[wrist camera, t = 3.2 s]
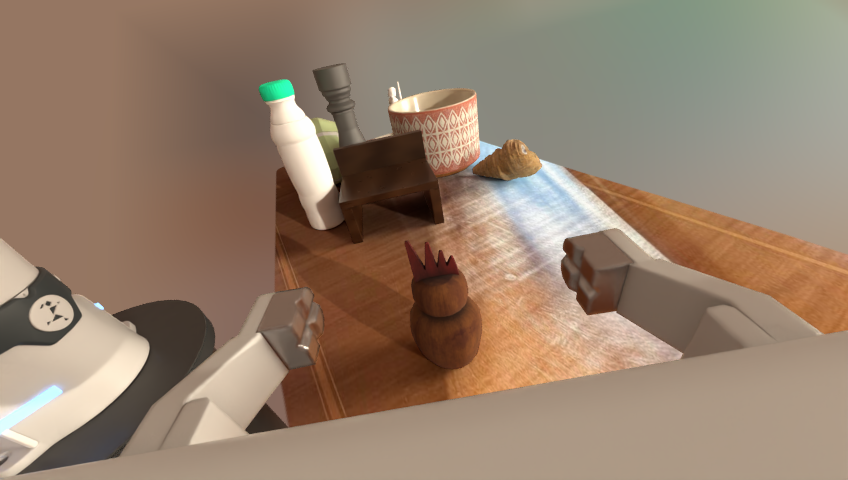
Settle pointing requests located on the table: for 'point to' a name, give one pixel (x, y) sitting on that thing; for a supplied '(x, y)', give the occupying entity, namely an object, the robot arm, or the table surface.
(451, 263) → the wooden figurine
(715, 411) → the robot arm
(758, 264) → the table surface
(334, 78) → the candle holder
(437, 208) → the miniature wooden bench
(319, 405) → the table surface
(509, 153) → the seashell
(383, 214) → the table surface
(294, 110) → the water bottle
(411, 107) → the planter
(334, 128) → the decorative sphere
